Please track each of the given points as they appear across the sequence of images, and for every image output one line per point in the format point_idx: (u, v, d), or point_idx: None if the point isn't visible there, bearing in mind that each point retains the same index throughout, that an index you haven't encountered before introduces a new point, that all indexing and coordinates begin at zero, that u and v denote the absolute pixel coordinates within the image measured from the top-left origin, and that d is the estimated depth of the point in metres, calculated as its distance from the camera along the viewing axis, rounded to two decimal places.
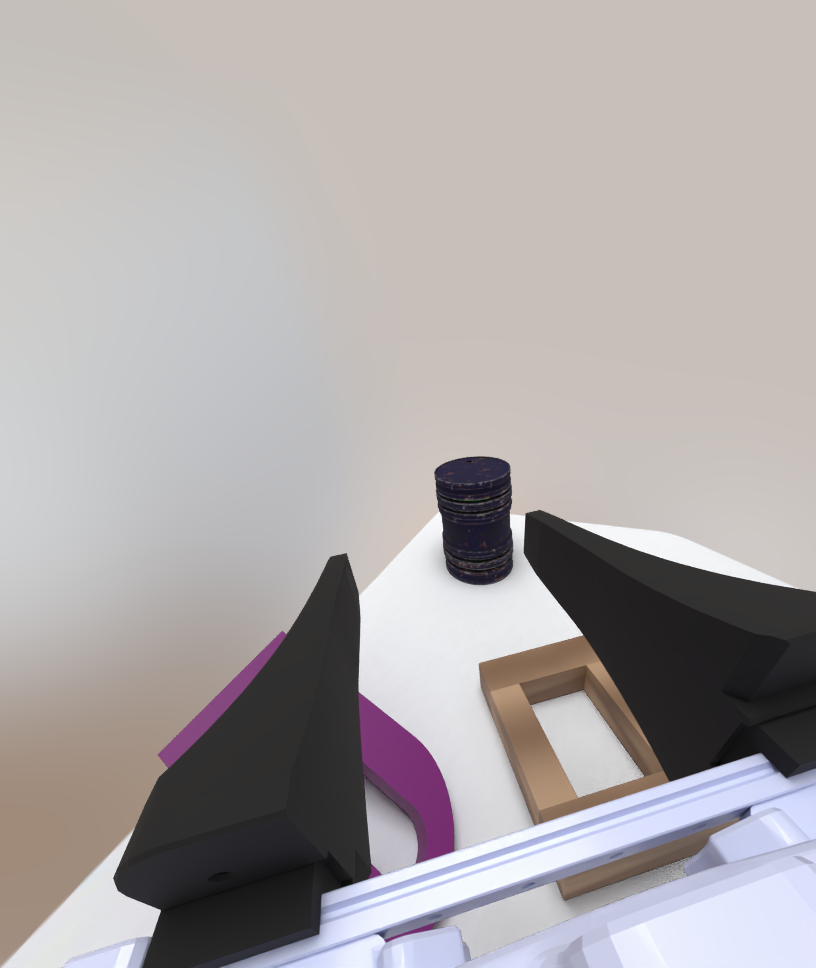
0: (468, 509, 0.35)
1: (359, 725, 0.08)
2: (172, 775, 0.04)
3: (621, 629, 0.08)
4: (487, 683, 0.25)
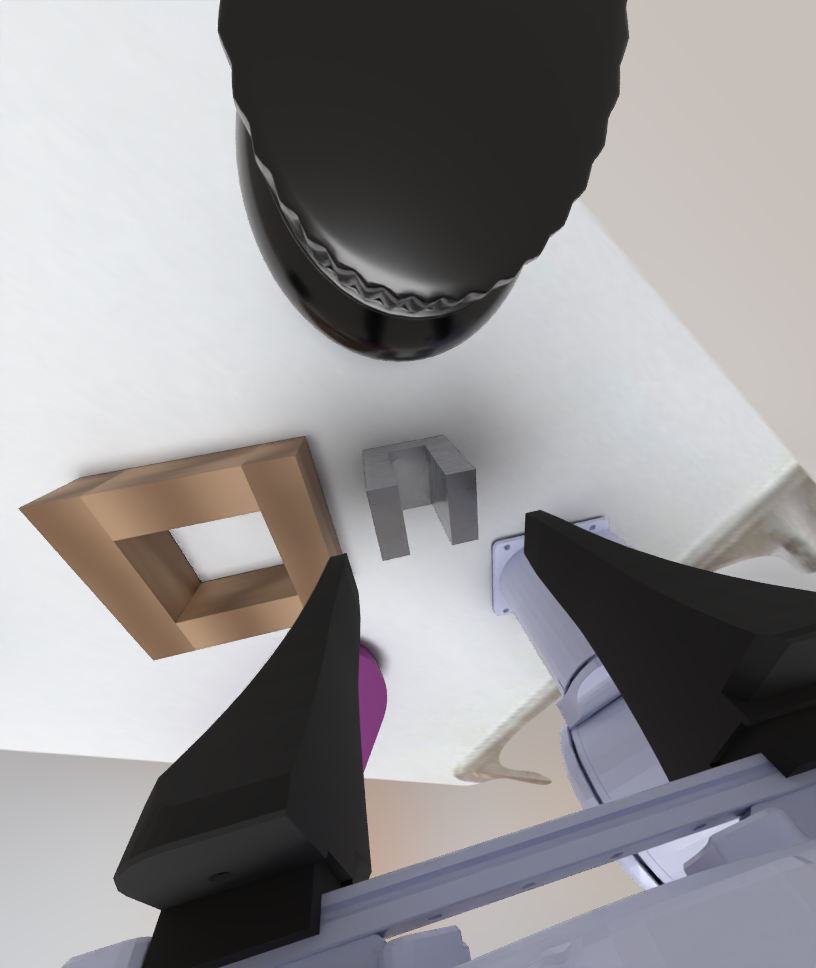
0: None
1: (359, 725, 0.08)
2: (172, 774, 0.04)
3: (621, 629, 0.08)
4: (184, 651, 0.18)
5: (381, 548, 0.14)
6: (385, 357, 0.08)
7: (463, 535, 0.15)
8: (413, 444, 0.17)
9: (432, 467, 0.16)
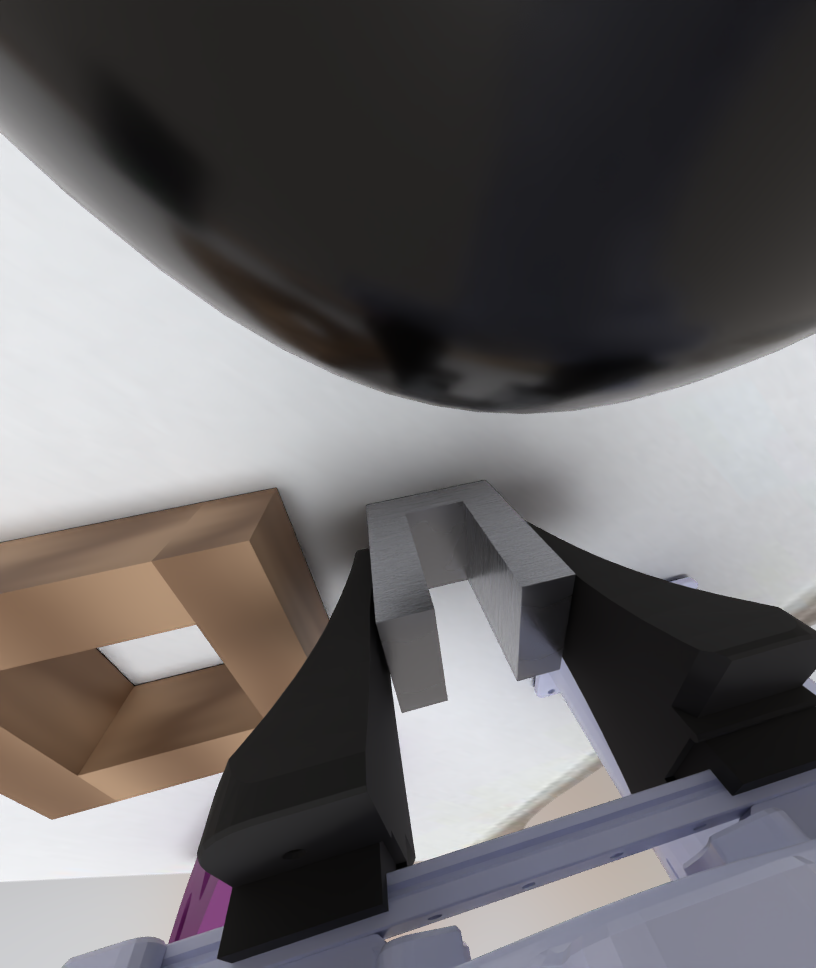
0: None
1: (394, 715, 0.08)
2: (243, 756, 0.04)
3: (585, 639, 0.08)
4: (99, 803, 0.12)
5: (400, 698, 0.08)
6: (487, 405, 0.02)
7: (537, 667, 0.09)
8: (443, 497, 0.11)
9: (479, 542, 0.10)
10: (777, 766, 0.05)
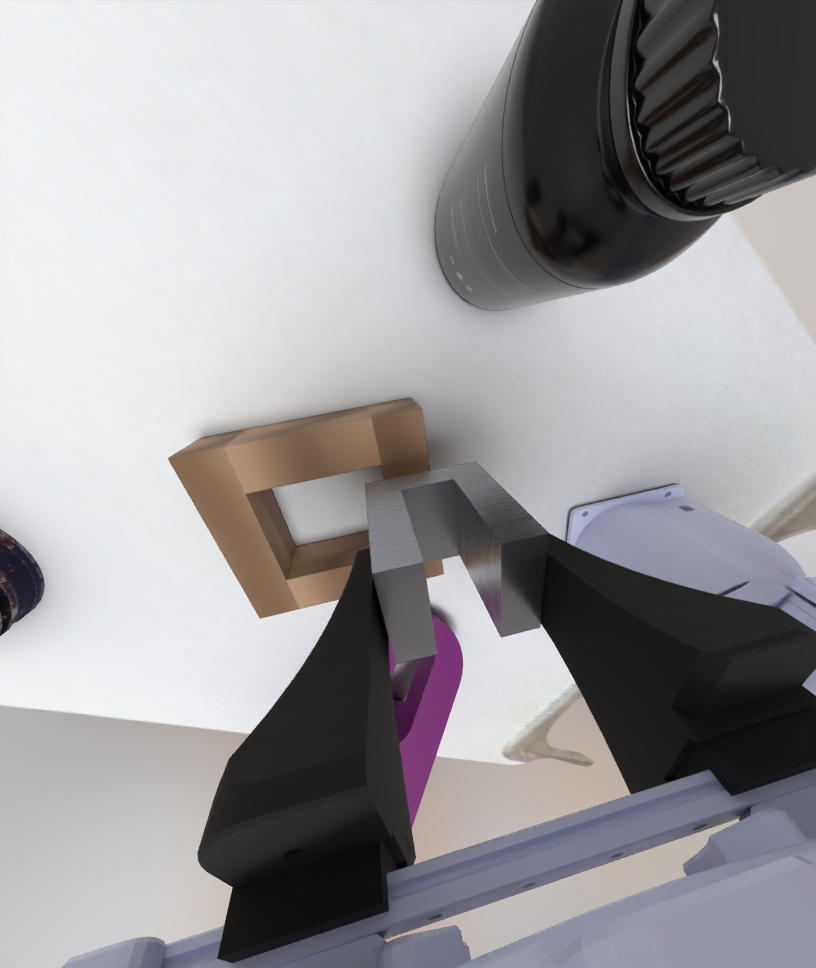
0: None
1: None
2: (243, 755, 0.04)
3: (585, 639, 0.08)
4: (288, 610, 0.19)
5: (394, 649, 0.09)
6: (598, 278, 0.08)
7: (518, 624, 0.10)
8: (436, 476, 0.12)
9: (467, 514, 0.11)
10: (776, 766, 0.05)
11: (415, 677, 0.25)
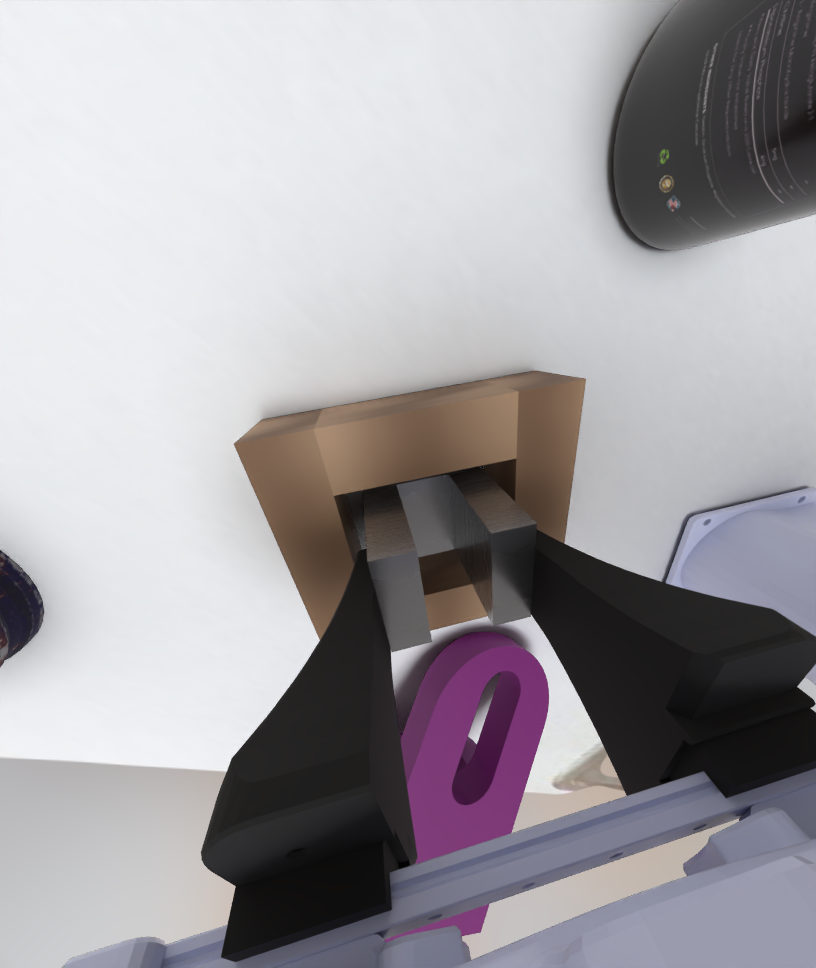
0: None
1: (396, 715, 0.08)
2: (246, 754, 0.04)
3: (581, 640, 0.08)
4: None
5: (390, 636, 0.10)
6: None
7: (510, 613, 0.10)
8: None
9: (461, 508, 0.11)
10: (770, 768, 0.05)
11: (490, 715, 0.21)
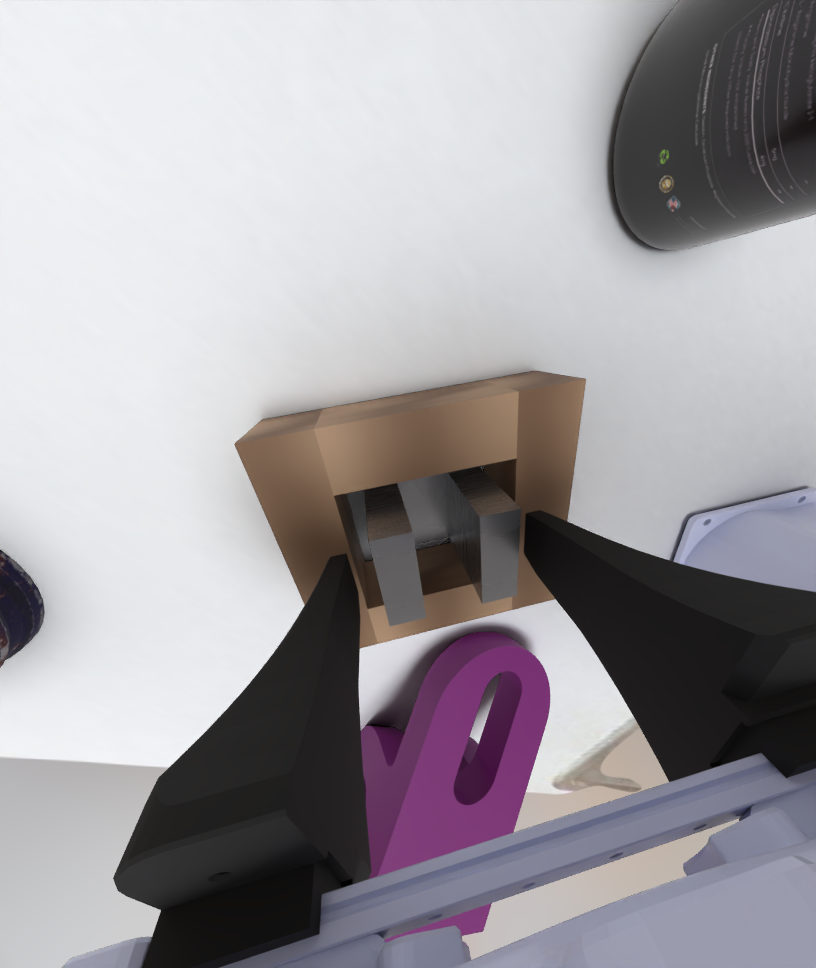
0: None
1: (359, 725, 0.08)
2: (172, 775, 0.04)
3: (621, 629, 0.08)
4: (363, 645, 0.14)
5: (388, 612, 0.10)
6: None
7: (497, 591, 0.11)
8: None
9: (454, 497, 0.12)
10: None
11: (491, 714, 0.21)
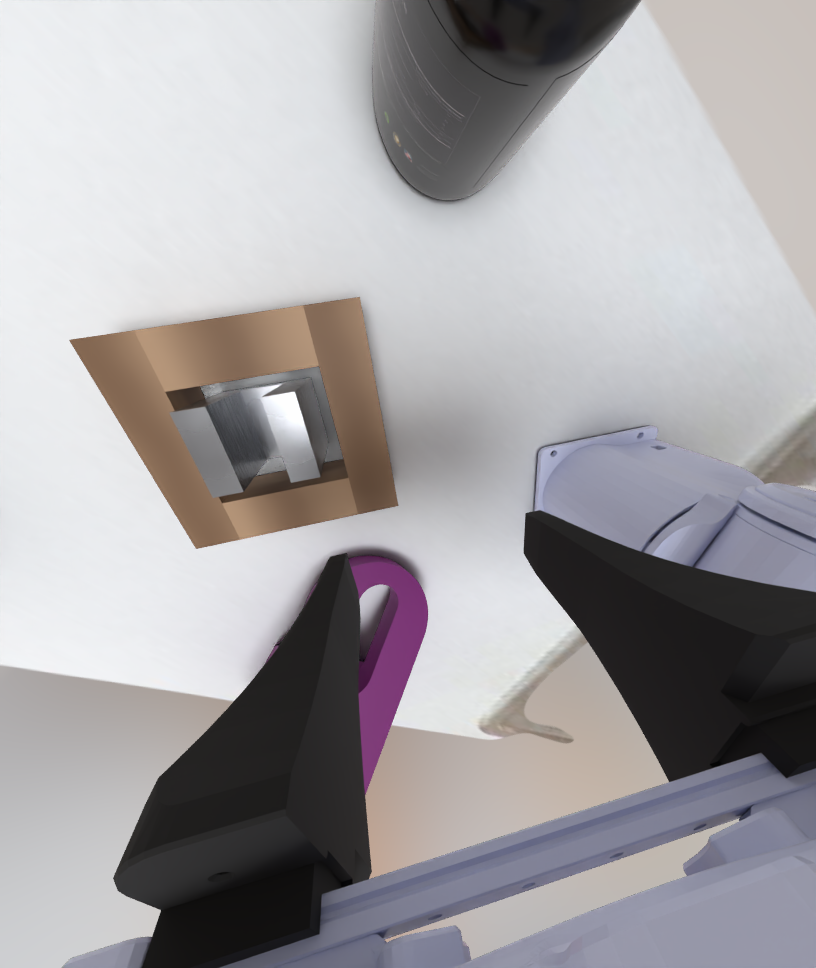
0: None
1: (359, 725, 0.08)
2: (172, 775, 0.04)
3: (621, 629, 0.08)
4: (228, 540, 0.17)
5: (207, 483, 0.13)
6: (517, 50, 0.07)
7: (301, 471, 0.14)
8: (274, 384, 0.16)
9: None
10: None
11: (378, 630, 0.24)
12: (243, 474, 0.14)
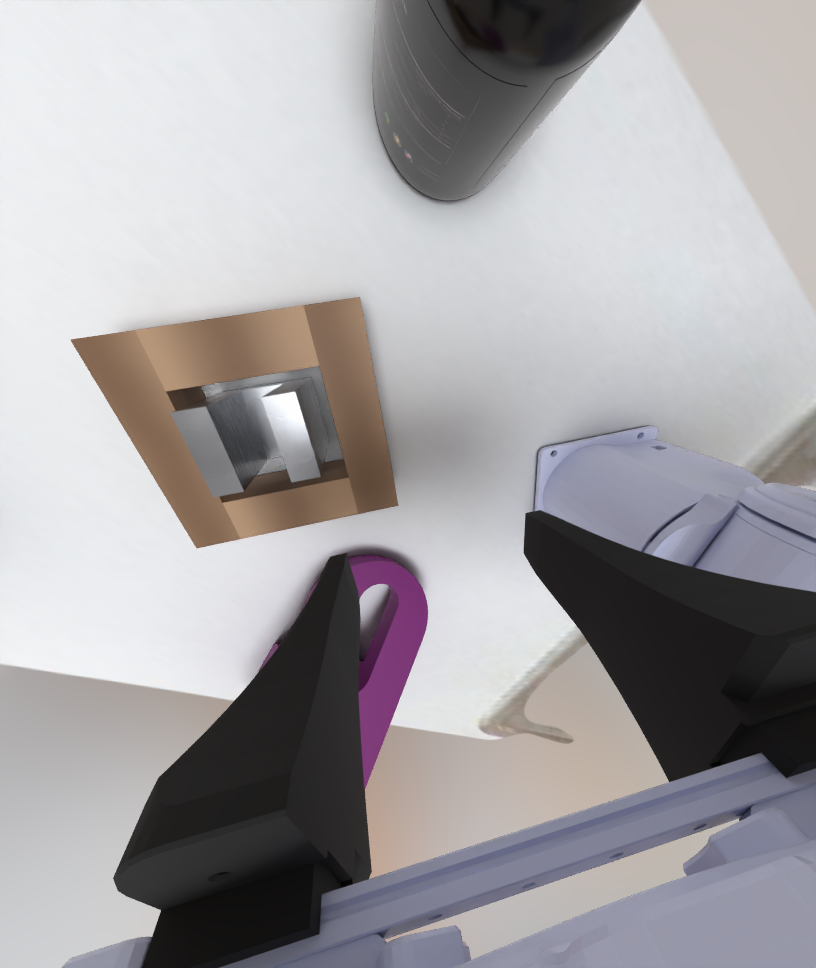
0: None
1: (359, 725, 0.08)
2: (172, 775, 0.04)
3: (621, 629, 0.08)
4: (228, 540, 0.17)
5: (207, 482, 0.13)
6: (517, 51, 0.07)
7: (302, 471, 0.14)
8: (274, 384, 0.16)
9: None
10: None
11: (377, 629, 0.24)
12: (243, 474, 0.14)
